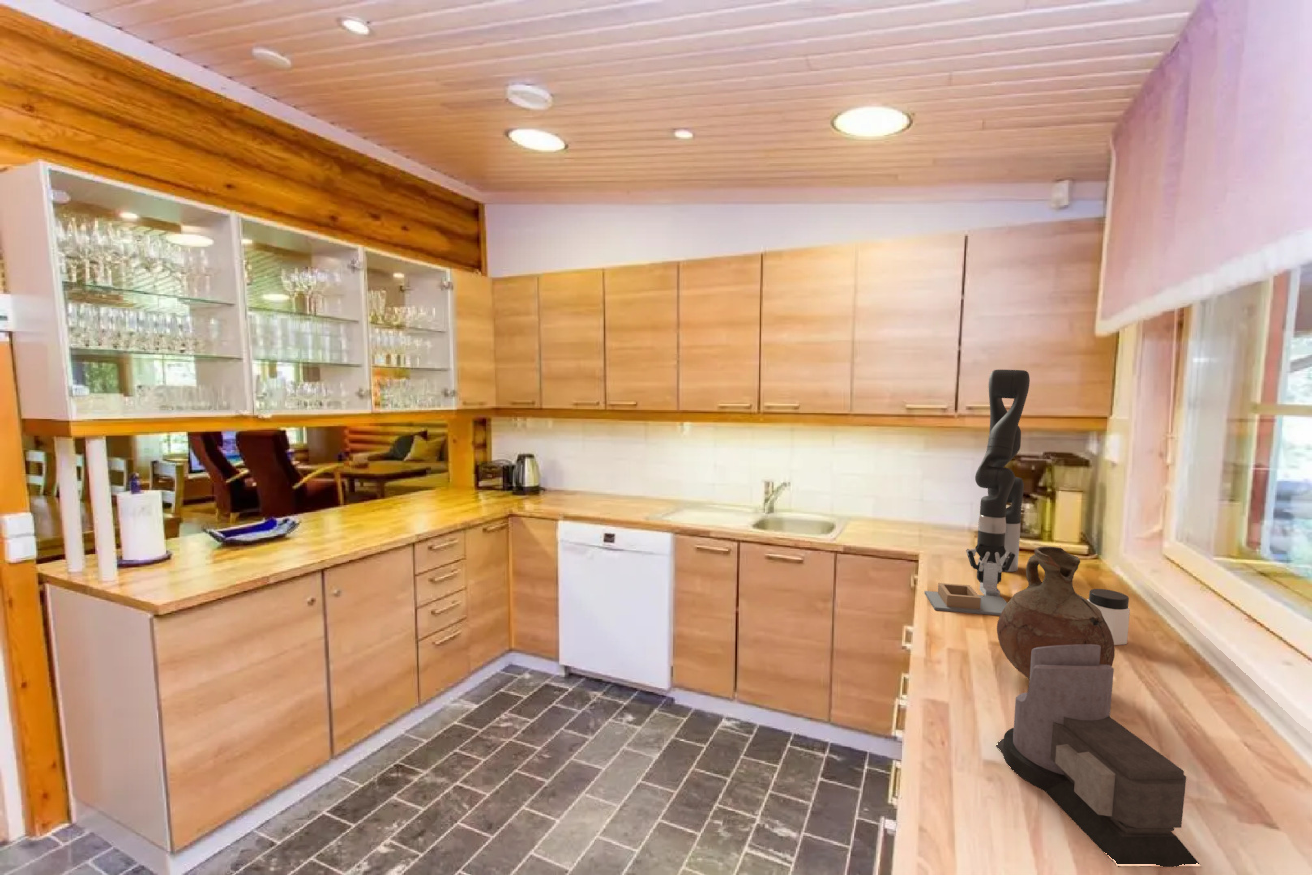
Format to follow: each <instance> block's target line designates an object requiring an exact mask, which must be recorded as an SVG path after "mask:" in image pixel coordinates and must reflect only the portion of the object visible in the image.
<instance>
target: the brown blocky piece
mask: <svg viewBox="0 0 1312 875" xmlns="http://www.w3.org/2000/svg"><path fill="white" fill-rule="evenodd" d="M1100 651H1101V647H1100V646H1099V645H1095V644H1074V645H1055V646H1044V647H1037V648H1034V649H1032V652H1031V666H1030V679H1029V685H1028V688H1027V692H1022V693H1019V694H1018V695H1017V696H1015V701H1014V702H1015V703H1014V717H1013V719H1014V720H1013V727H1012V728H1009V729H1008V730H1006V731H1005V733H1004V735H1003V738H1002V739H1000V740H1001V741H1000V740H999V741H1000V742H999V741H997V743H998V745H996V744H995V745H996V746H995V747H996V748H997V749H998V748H999V749H1000V750H1001V751H1000V750H999V749H998V750H999V751H1000V752H1001V754H1002V756H1004V757H1003V759H1005V760H1004V762H1005V763H1006V765H1007V764H1008V765H1009V766H1010V767H1011V768H1010V767H1009V766H1008V765H1007V766H1008V767H1009V768H1010V770H1012V771H1013V770H1014V771H1013V772H1014V773H1015V774H1016V775H1017V774H1018V775H1019V777H1020V778H1021V779H1022V780H1024V781H1026V782H1027V783H1029V784H1031V785H1032V786H1035V787H1036V788H1038V789H1040V790H1042V791H1044V792H1045V793H1046V794H1047V795H1048V796H1049V797H1050V798H1051V799H1052V800H1053V802H1055V804H1057V806H1059V807H1060V809H1061V810H1062V811H1063V812H1064V813H1065V814H1066V815H1067V816H1068V817H1069V818H1070V819H1071V820H1072V821H1073V823H1075V824H1076V826H1078V827H1079V829H1081V831H1083V833H1085V834H1086V836H1087V838H1089V839H1090V840H1091V841H1092V842H1093V843H1094V844H1095V845H1096V846H1097V847H1098V848H1099V849H1100V850H1101V852H1103V851H1104V852H1105V853H1107V855H1109V856H1110V857H1111V858H1112V859H1114V860H1115V861H1116V863H1117V864H1156V865H1160V866H1163V867H1162V868H1170V867H1171V868H1173V867H1174V866H1176V867H1174V868H1178V867H1177V866H1179V865H1182V864H1184V865H1185V864H1196V863H1198V864H1200V862H1199V861H1198V860H1197V859H1196V857H1195V856H1194V855H1193V854H1192V853H1191V852H1190V850H1189V849H1188V848H1187V847H1186V846H1185V845H1184V843H1183V842H1182V841H1181V840H1180V838H1179V837H1178V836H1177V835H1176V834H1174V833H1173V832H1175V828H1176V829H1181V828H1182V824H1183V816H1184V814H1183V812H1184V803H1185V793H1186V785H1187V776H1186V775H1185V773H1184V772H1185V770H1183V769H1182V768H1181V767H1179V765H1176V764H1175V763H1174V762H1172V761H1171V760H1170V759H1168V758H1167V757H1166V756H1164V755H1163V754H1161V753H1160V752H1159V751H1157V750H1156V749H1154V748H1153V747H1152V746H1150V745H1149V744H1148V743H1146V742H1145V741H1144V740H1142V739H1141V738H1140V737H1138V736H1137V735H1135V734H1134V733H1133V732H1131V731H1130V730H1128V729H1127V728H1126V727H1125V726H1123V725H1122V724H1120V723H1119V722H1118V721H1116V720H1115V719H1114V718H1112V717H1111V708H1112V706H1111V704H1112V695H1113V683H1114V672H1115V671H1114V670H1115V668H1113V666H1112V667H1111V666H1110V665H1099V664H1100ZM1018 775H1017V776H1018ZM1104 852H1103V853H1104ZM1105 853H1104V854H1105ZM1107 855H1106V856H1107Z"/></svg>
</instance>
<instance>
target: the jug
mask: <svg viewBox="0 0 1312 875" xmlns="http://www.w3.org/2000/svg"><path fill="white" fill-rule="evenodd" d="M1080 564H1081V560H1080V559H1079V557H1077V556H1076V555H1073V554H1071V553H1069V552H1067V551H1066V550H1064V549H1063V548H1062V547H1057V546H1047V545H1046V546H1045V545H1044V546H1038V547H1036V548H1034V554H1033V555H1031V556H1029V558H1028V560H1027V563H1026V567H1025V574H1026V581H1027V583H1028V584H1027V587H1026V588H1024V589H1022V590H1020V591H1017V592H1015V593H1014V594H1013V595H1012V597H1010V600H1009V601H1008V602H1007V604H1006V606H1005V608H1004V609H1003V611H1002V613H1001V615H1000V616H999V618H998V619H997V624H996V634H997V639H998V643H999V646H1000V648H1001V650H1002V652H1003V654H1004V655H1005V657H1006V659H1007V660H1008V661H1009V663H1011V665H1012V666H1013V667H1014V668H1015V669H1016V670H1017V671H1018V672H1019V673H1020V674H1022V675H1023V676H1024V677H1026V678H1027V679H1029V680H1030V666H1031V652H1032V649H1034V648H1037V647H1044V646H1055V645H1074V644H1095V645H1099V646H1100V647H1101V651H1100V664H1099V665H1110V666H1111V667H1112V668H1113V664H1114V659H1115V654H1116V653H1115V650H1116V648H1115V645H1114V641H1113V637H1112V634H1111V631H1110V629H1109V627H1108V625H1107V623H1106V622H1105V620H1104V618H1103V616H1102V613H1101V611H1100V610H1099V609H1098V608H1097V607H1096V606H1095V605H1093V604H1092V603H1091V602H1089V601H1088V600H1087V599H1086V598H1085V597H1083V596H1082V595H1081V594H1078V593H1077V592H1076V591H1075V588H1074V585H1073V582H1074V581H1073V579H1074V575H1075V573H1076V572H1077V571H1078V569H1079V566H1080ZM1039 566H1040V567H1041V568H1042V569H1043V571H1044V578H1043V580H1041V578H1040V577H1039V576H1040V575H1039V568H1038V567H1039Z"/></svg>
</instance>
